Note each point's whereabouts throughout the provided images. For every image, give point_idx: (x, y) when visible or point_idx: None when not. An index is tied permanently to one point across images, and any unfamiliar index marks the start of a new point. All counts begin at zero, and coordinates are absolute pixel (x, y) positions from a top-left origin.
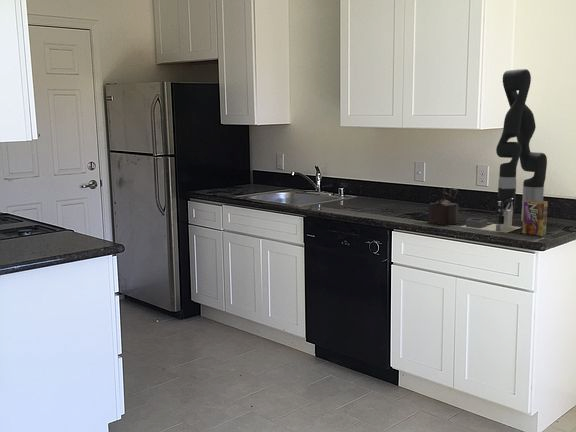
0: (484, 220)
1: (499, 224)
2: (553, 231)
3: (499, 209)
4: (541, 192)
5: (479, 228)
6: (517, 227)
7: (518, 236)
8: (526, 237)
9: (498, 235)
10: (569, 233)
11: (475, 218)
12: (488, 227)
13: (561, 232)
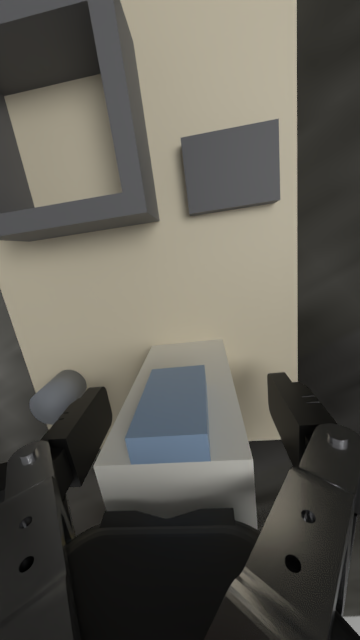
0: (76, 224)
1: (145, 359)
2: (355, 557)
3: (4, 518)
4: None
5: (12, 249)
6: (271, 421)
7: (82, 494)
8: (93, 525)
9: (13, 417)
10: (348, 613)
11: (94, 34)
12: (106, 275)
13: (351, 586)
